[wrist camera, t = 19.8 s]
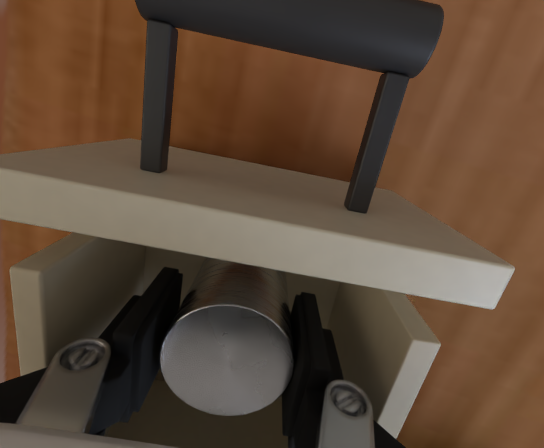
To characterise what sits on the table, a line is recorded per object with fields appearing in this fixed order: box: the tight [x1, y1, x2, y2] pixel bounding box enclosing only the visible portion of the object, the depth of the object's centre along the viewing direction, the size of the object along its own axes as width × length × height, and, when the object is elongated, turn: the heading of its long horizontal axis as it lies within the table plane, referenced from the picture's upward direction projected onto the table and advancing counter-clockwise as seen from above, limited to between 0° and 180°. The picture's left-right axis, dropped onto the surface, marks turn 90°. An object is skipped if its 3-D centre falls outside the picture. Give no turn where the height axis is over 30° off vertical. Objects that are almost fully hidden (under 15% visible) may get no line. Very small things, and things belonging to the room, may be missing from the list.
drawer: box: [0, 0, 515, 448], centre depth 11 cm, size 19×12×8 cm, turn 169°
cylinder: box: [159, 257, 295, 416], centre depth 12 cm, size 4×4×6 cm
